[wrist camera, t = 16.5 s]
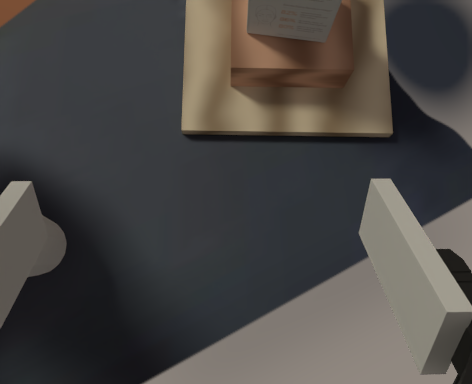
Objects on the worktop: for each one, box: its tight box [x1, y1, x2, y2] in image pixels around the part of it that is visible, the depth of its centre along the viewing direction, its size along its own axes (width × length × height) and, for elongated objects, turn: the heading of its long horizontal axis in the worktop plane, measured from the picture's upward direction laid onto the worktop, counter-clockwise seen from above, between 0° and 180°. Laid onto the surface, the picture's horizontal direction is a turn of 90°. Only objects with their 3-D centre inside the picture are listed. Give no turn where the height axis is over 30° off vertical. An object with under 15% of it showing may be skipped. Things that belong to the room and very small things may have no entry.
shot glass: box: [28, 215, 67, 277], centre depth 39 cm, size 7×7×7 cm
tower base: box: [182, 0, 393, 137], centre depth 45 cm, size 22×22×5 cm
